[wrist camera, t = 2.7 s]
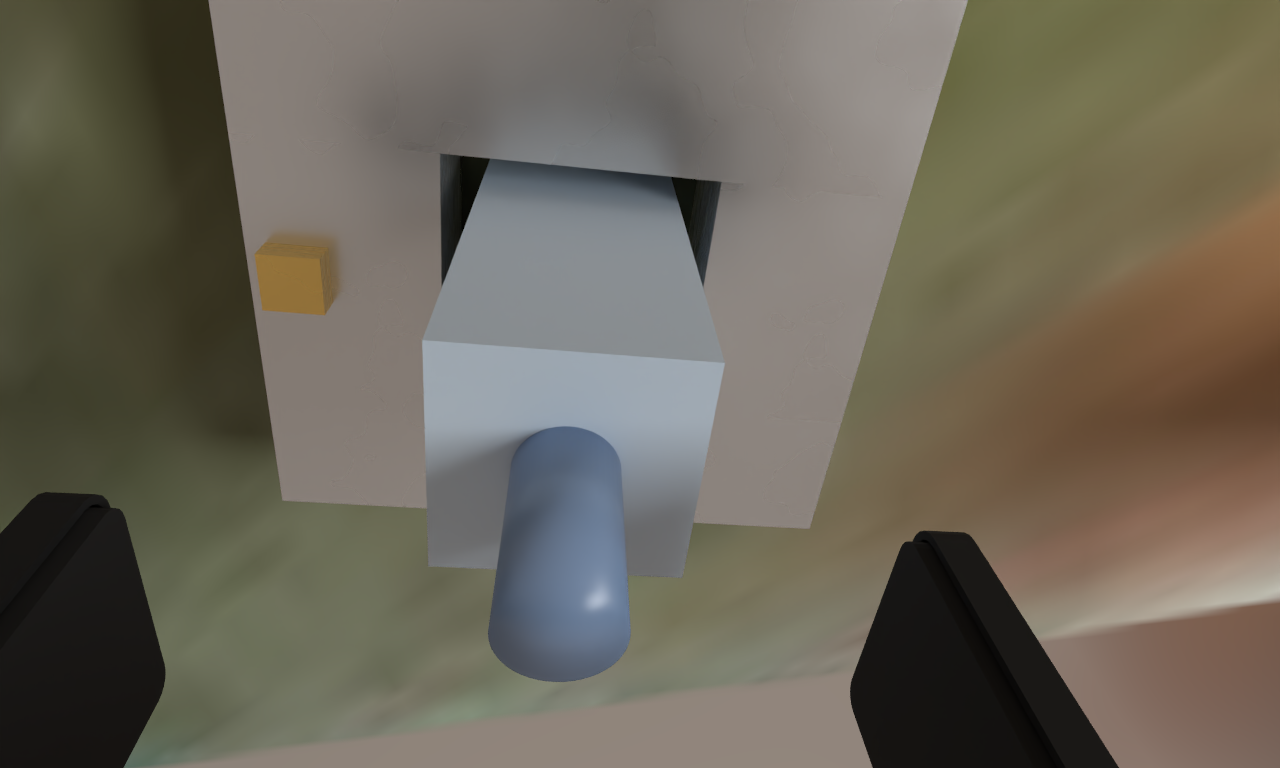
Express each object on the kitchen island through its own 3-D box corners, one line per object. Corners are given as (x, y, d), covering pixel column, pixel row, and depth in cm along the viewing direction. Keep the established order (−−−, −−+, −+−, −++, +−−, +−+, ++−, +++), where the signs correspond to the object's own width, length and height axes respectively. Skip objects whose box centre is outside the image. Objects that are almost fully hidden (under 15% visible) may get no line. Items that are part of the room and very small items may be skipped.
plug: (493, 150, 18) (368, 487, 8) (668, 168, 18) (767, 509, 8) (489, 330, 20) (388, 769, 10) (644, 342, 21) (698, 775, 11)
